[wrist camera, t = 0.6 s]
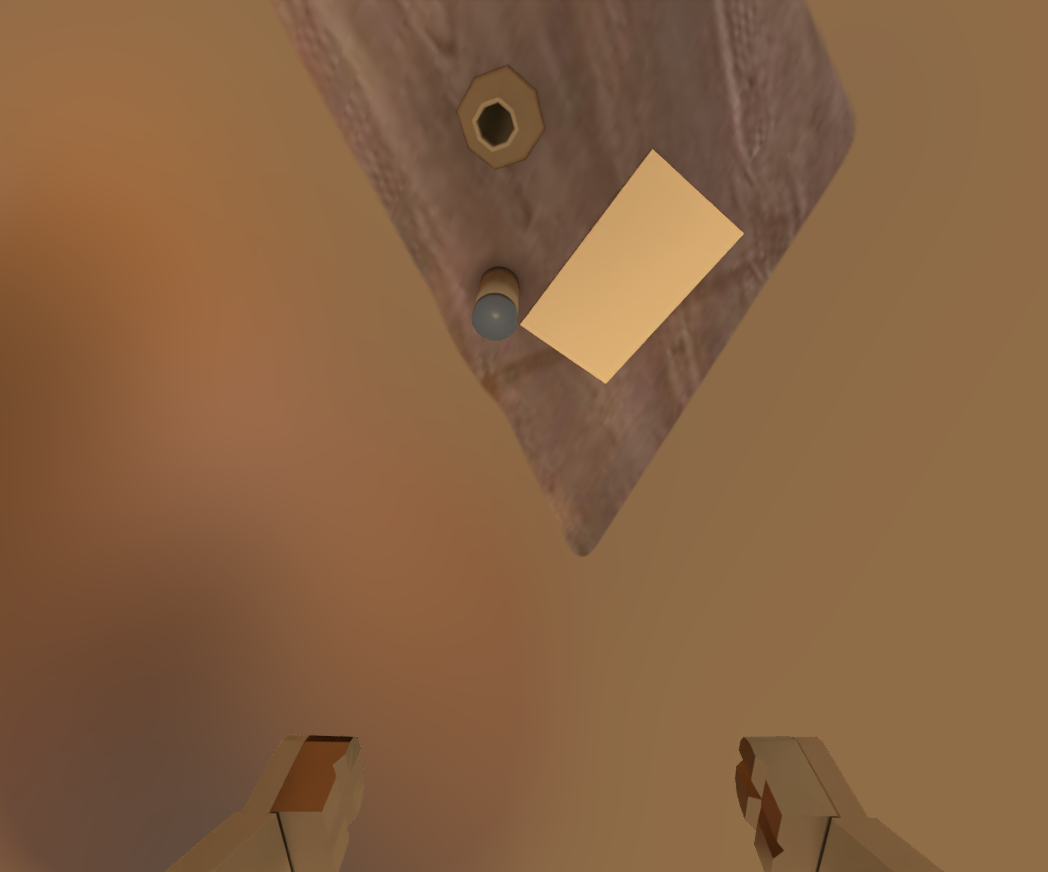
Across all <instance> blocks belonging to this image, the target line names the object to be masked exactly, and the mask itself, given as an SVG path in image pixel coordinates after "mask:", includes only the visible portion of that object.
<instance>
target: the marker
mask: <svg viewBox="0 0 1048 872" xmlns="http://www.w3.org/2000/svg"><path fill="white" fill-rule="evenodd" d="M518 301H519V282H518V279H517V277H516V275H515V274H514V273H513V272H512V271H511V270H509V269H507V268H504V267H494V268H491V269H489V270H488V271H486V272H485V273H484V275H483V276H482V278H481V281H480V285H479V289H478V293H477V297H476V301H475V305H474V309H473V313H472V323H473V326H474V328H475V330H476V331H477V332H478V333H479V334H480V335H481V336H482V337H484V338H486V339H489V340H502V339H505V338H507V337H509V336H510V335H511V334H512V333H513V332H514V330H515V329H516V326H517V322H518Z"/></svg>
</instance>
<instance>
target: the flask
mask: <svg viewBox="0 0 1048 872" xmlns="http://www.w3.org/2000/svg"><path fill="white" fill-rule="evenodd" d="M456 112H457V115H458V118H459V121H460V124H461V127H462V131H463V134H464V137H465V140H466V143H467V146H468V148H469V149H470V150H471V151H472V152H474V153H475V154H476V155H477V156H479V157H480V158H481V159H482V160H484V161H485V162H486V163H487V164H489V165H490V166H491V167H492V168H494V169H495V170H496V169H499V168H502V167H504V166H507V165H510V164H513V163H516V162H519V161H522V160H524V159H526V158H527V156H528V154H529V153H530V151H531V150H532V148H533V147H534V145H535V144H536V142H537V140H538V139H539V137H540V136H541V134H542V133H543V131H544V129H545V126H544V122H543V118H542V114H541V109H540V105H539V101H538V97H537V93H536V90H535V89H534V88H533V87H532V86H531V85H530V84H529V83H527V82H526V81H525V80H524V79H523V78H522V77H521V76H520V75H518V74H517V73H516V72H515V71H514V70H513V69H512V68H511V67H510V66H508V65H506V66H503V67H501V68H498V69H495V70H493V71H490V72H488V73H485V74H482V75H480V76H477V77H475V78H474V79H473V81H472V83H471V85H470V87H469V89H468V90H467V92H466V94H465V96H464V98H463V100H462V101H461V103H460V105H459V107H458V109H457V111H456Z"/></svg>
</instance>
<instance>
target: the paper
mask: <svg viewBox="0 0 1048 872" xmlns="http://www.w3.org/2000/svg"><path fill="white" fill-rule="evenodd" d="M743 234H744V233H743V232H742V231H741V230H739V229H738V228H737V227H736V226H735V225H734V224H733V223H732V222H731V221H730V220H729V219H728V218H727V217H725V216H724V215H723V214H722V213H721V212H720V211H719V210H718V209H717V208H716V207H715V206H714V205H712V204H711V203H710V202H709V201H708V200H707V199H706V198H705V197H704V196H703V195H702V194H701V193H699V192H698V191H697V190H696V189H695V188H694V187H693V186H692V185H691V184H690V183H689V182H688V181H687V180H685V179H684V178H683V177H682V176H681V175H680V174H679V173H678V172H677V171H676V170H675V169H674V168H672V167H671V166H670V165H669V164H668V163H667V162H666V161H665V160H664V159H663V158H662V157H661V156H660V155H658V154H657V153H656V152H655V151H654V150H653V149H651V151H650V152H649V153H648V154H647V156H646V157H645V158H644V160H643V161H642V162H641V164H640V165H639V166H638V168H637V169H636V170H635V172H634V173H633V174H632V176H631V177H630V178H629V180H628V181H627V182H626V184H625V185H624V186H623V188H622V189H621V190H620V192H619V193H618V194H617V196H616V197H615V198H614V200H613V201H612V202H611V204H610V205H609V206H608V208H607V209H606V210H605V212H604V213H603V214H602V216H601V217H600V218H599V220H598V221H597V222H596V224H595V225H594V226H593V228H592V229H591V230H590V232H589V233H588V234H587V235H586V237H585V238H584V239H583V241H582V242H581V243H580V245H579V246H578V247H577V249H576V250H575V251H574V253H573V254H572V255H571V257H570V258H569V259H568V261H567V262H566V263H565V265H564V266H563V267H562V269H561V270H560V271H559V273H558V274H557V275H556V277H555V278H554V279H553V281H552V282H551V283H550V285H549V286H548V287H547V289H546V290H545V291H544V293H543V294H542V295H541V297H540V298H539V299H538V301H537V302H536V303H535V305H534V306H533V307H532V309H531V310H530V311H529V313H528V314H527V315H526V316H525V318H524V319H523V320H522V322H521V323H520V325H521V326H522V327H524V328H525V329H527V330H528V331H530V332H531V333H533V334H534V335H535V336H537V337H538V338H540V339H541V340H543V341H544V342H546V343H547V344H549V345H550V346H551V347H553V348H554V349H556V350H557V351H559V352H560V353H562V354H563V355H565V356H566V357H568V358H569V359H570V360H572V361H573V362H575V363H576V364H578V365H579V366H581V367H582V368H584V369H585V370H586V371H588V372H589V373H591V374H592V375H594V376H595V377H597V378H598V379H600V380H601V381H602V382H604V383H605V384H606V383H607V382H608V381H609V380H610V379H611V377H612V376H613V375H614V374H615V373H616V372H617V371H618V370H619V369H620V368H621V367H622V366H623V364H624V363H625V362H626V361H627V360H628V359H629V358H630V357H631V356H632V355H633V354H634V352H635V351H636V350H637V349H638V348H639V347H640V346H641V345H642V344H643V343H644V342H645V341H646V339H647V338H648V337H649V336H650V335H651V334H652V333H653V332H654V331H655V330H656V329H657V327H658V326H659V325H660V324H661V323H662V322H663V321H664V320H665V319H666V318H667V317H668V316H669V314H670V313H671V312H672V311H673V310H674V309H675V308H676V307H677V306H678V305H679V304H680V303H681V301H682V300H683V299H684V298H685V297H686V296H687V295H688V294H689V293H690V292H691V291H692V289H693V288H694V287H695V286H696V285H697V284H698V283H699V282H700V281H701V280H702V279H703V278H704V276H705V275H706V274H707V273H708V272H709V271H710V270H711V269H712V268H713V267H714V266H715V264H716V263H717V262H718V261H719V260H720V259H721V258H722V257H723V256H724V255H725V254H726V253H727V251H728V250H729V249H730V248H731V247H732V246H733V245H734V244H735V243H736V242H737V241H738V240H739V238H740V237H741V236H742V235H743Z"/></svg>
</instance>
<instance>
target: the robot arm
mask: <svg viewBox="0 0 1048 872" xmlns="http://www.w3.org/2000/svg"><path fill="white" fill-rule="evenodd" d="M360 749H361V748H360V744H359V740H358V737H349V736H319V735H318V736H317V735H287V736H286V737H285V738H284V739H283V740H282V741H281V742H280V743H279V745H278V747H277V749H276V751H275V752H274V754H273V756H272V758H271V760H270V762H269V763H268V765H267V767H266V769H265V771H264V772H263V774H262V776H261V778H260V780H259V782H258V784H257V785H256V787H255V789H254V791H253V793H252V795H251V796H250V798H249V800H248V802H247V804H246V806H245V808H244V809H243V811H242V813H234V814H233V815H231V816H230V817H229V818H228V819H227V820H225V821H224V822H223V823H222V824H221V825H219V826H218V827H217V828H216V829H215V830H213V831H212V832H211V833H210V834H209V835H208V836H206V837H205V838H204V839H203V840H201V841H200V842H199V843H198V844H197V845H195V846H194V847H193V848H192V849H191V850H189V851H188V852H187V853H186V854H185V855H183V856H182V857H181V858H180V859H179V860H178V861H176V862H175V863H174V864H173V865H172V866H170V867H169V868H168V869H167V870H166V871H164V872H339V869H340V866H341V863H342V860H343V857H344V854H345V851H346V848H347V845H348V842H349V836H348V830H347V826H348V825H349V824H350V823H351V822H352V821H353V820H354V819H355V818H356V817H357V815H358V811H359V809H360V805H361V802H362V797H363V791H364V785H365V771H364V765H363V763H362V762H361V761H360V760H358V759H357V757H358V754H359V751H360ZM739 751H740V754H741V756H742V759H743V760H742V761H741V762H740V763H739V764H738V765H737V766H736V774H735V782H736V790H737V796H738V800H739V804H740V807H741V810H742V812H743V815H744V818H745V820H746V821H747V822H748V823H749V824H750V825H751V826H752V827H753V828H754V829H755V830H756V835H755V842H754V845H755V848H756V850H757V853H758V856H759V858H760V861H761V863H762V866H763V868H764V871H765V872H944V871H943V870H941V869H940V868H939V867H938V866H936V865H935V864H934V863H933V862H931V861H930V860H929V859H927V858H926V857H925V856H924V855H923V854H921V853H920V852H919V851H917V850H916V849H915V848H914V847H912V846H911V845H910V844H909V843H907V842H906V841H905V840H904V839H902V838H901V837H900V836H899V835H897V834H896V833H895V832H893V831H892V830H891V829H890V828H889V827H887V826H886V825H885V824H883V823H882V822H881V821H880V820H878V819H877V818H869V817H868V816H867V814H866V812H865V811H864V809H863V807H862V806H861V804H860V803H859V801H858V799H857V797H856V796H855V794H854V793H853V791H852V789H851V788H850V786H849V784H848V783H847V781H846V779H845V778H844V776H843V774H842V773H841V771H840V770H839V768H838V766H837V765H836V763H835V761H834V760H833V758H832V756H831V755H830V753H829V751H828V750H827V748H826V746H825V745H824V743H823V742H822V741H821V740H820V739H819V738H818V737H789V736H776V737H743V738H742V739H741V741H740V746H739Z"/></svg>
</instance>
